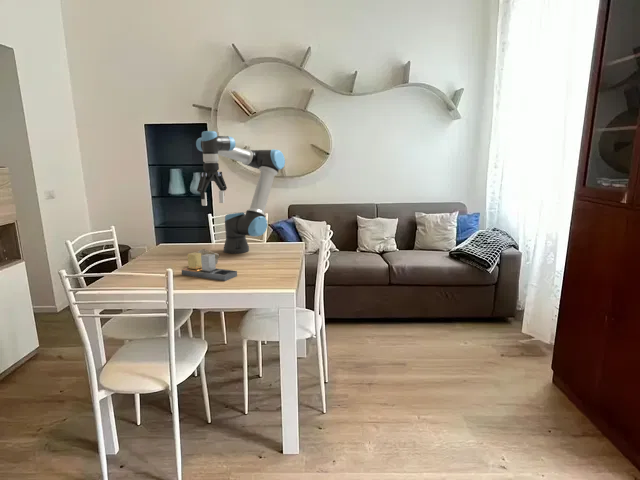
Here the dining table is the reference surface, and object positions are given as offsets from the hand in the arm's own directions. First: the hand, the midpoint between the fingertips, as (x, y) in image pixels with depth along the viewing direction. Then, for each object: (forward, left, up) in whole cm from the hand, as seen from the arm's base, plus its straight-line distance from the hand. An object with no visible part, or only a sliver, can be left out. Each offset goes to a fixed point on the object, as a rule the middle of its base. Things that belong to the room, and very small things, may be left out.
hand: (213, 204), depth 218 cm
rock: (+6, -2, -32) cm, 33 cm away
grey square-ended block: (+20, +12, -32) cm, 39 cm away
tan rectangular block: (+20, +3, -32) cm, 38 cm away
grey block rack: (+20, +12, -32) cm, 39 cm away
